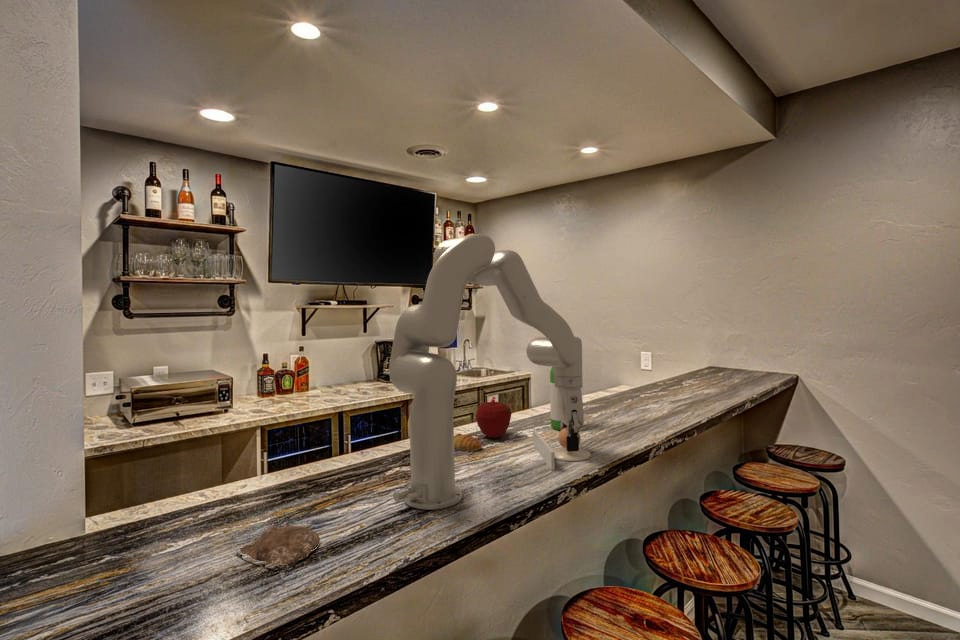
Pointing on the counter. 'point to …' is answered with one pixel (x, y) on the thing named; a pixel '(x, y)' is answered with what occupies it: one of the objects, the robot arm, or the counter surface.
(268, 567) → the counter surface
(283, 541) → the shell
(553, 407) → the wine bottle
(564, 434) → the ball
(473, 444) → the pastry
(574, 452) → the saucer
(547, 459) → the wall
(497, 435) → the apple
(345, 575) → the counter surface
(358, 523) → the counter surface
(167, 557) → the counter surface
